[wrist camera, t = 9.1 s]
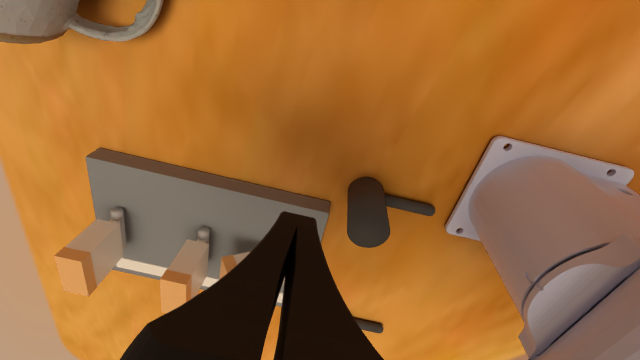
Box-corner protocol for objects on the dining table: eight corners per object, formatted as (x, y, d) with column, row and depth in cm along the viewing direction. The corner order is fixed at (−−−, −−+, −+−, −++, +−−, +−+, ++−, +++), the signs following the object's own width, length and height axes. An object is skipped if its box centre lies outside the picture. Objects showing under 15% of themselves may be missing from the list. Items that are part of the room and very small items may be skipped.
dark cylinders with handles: (449, 196, 23) (470, 237, 19) (378, 333, 32) (382, 381, 28) (353, 173, 23) (353, 209, 19) (306, 318, 31) (300, 364, 27)
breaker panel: (330, 201, 24) (329, 214, 23) (302, 297, 30) (300, 311, 28) (99, 147, 24) (84, 157, 22) (115, 255, 29) (103, 268, 28)
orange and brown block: (216, 229, 24) (186, 283, 20) (213, 263, 26) (185, 318, 22) (195, 224, 24) (159, 277, 20) (194, 258, 26) (161, 313, 22)
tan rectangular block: (298, 256, 24) (227, 272, 21) (289, 289, 26) (224, 307, 23) (289, 241, 25) (221, 255, 22) (281, 273, 27) (218, 289, 24)
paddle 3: (131, 210, 24) (80, 259, 20) (134, 245, 26) (89, 298, 21) (109, 205, 24) (53, 253, 20) (114, 241, 26) (64, 292, 21)
